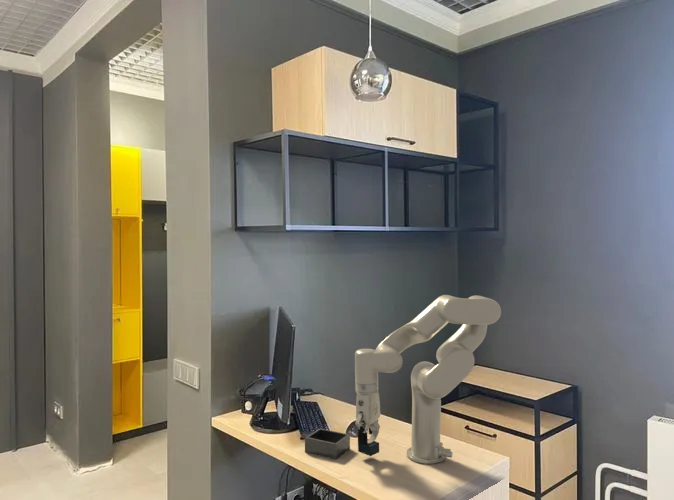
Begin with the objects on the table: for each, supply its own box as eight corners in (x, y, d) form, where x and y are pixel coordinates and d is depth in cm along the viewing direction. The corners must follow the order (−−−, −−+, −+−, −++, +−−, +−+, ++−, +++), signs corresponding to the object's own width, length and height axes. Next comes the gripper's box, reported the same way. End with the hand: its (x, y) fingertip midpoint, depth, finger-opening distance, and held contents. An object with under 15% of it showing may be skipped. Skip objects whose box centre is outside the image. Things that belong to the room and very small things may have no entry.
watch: (383, 450, 171) (382, 417, 171) (366, 457, 166) (365, 424, 165) (370, 445, 175) (369, 413, 175) (354, 453, 170) (353, 420, 169)
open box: (349, 448, 178) (350, 434, 178) (336, 459, 169) (336, 444, 169) (319, 442, 184) (319, 428, 184) (304, 452, 175) (305, 437, 175)
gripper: (366, 395, 160) (367, 451, 161) (387, 381, 176) (388, 431, 176) (344, 393, 164) (346, 447, 164) (367, 379, 179) (368, 428, 180)
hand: (368, 439), depth 170 cm, fingers closed on watch, 8 cm apart
